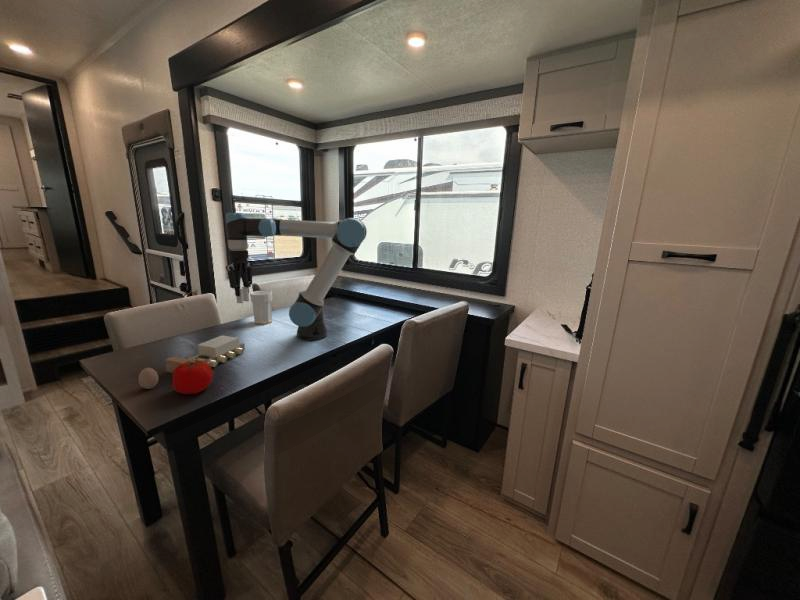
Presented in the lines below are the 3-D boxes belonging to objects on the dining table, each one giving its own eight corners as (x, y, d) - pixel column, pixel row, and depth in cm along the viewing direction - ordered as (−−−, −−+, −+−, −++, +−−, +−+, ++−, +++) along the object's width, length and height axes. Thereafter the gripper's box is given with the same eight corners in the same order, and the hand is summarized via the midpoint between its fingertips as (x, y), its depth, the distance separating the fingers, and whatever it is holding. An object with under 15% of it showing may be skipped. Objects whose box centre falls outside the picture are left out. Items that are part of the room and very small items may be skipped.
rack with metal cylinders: (250, 351, 140) (249, 340, 139) (195, 378, 115) (194, 365, 114) (225, 346, 144) (224, 336, 143) (167, 371, 119) (165, 359, 117)
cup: (259, 318, 185) (257, 290, 181) (277, 320, 184) (275, 291, 180) (248, 324, 175) (245, 294, 170) (267, 326, 173) (265, 295, 169)
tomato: (165, 394, 103) (160, 365, 101) (198, 379, 114) (194, 352, 112) (190, 402, 99) (186, 372, 97) (222, 386, 110) (219, 358, 107)
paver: (239, 346, 137) (238, 338, 136) (216, 357, 125) (215, 347, 124) (222, 343, 139) (221, 335, 138) (198, 354, 128) (197, 344, 127)
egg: (153, 392, 105) (149, 371, 103) (136, 392, 104) (132, 371, 103) (163, 384, 110) (160, 364, 108) (147, 384, 110) (143, 364, 108)
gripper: (245, 248, 145) (249, 297, 151) (216, 250, 130) (221, 305, 136) (258, 248, 143) (262, 299, 148) (230, 251, 128) (236, 307, 134)
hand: (243, 301), depth 142 cm, fingers open, 3 cm apart
